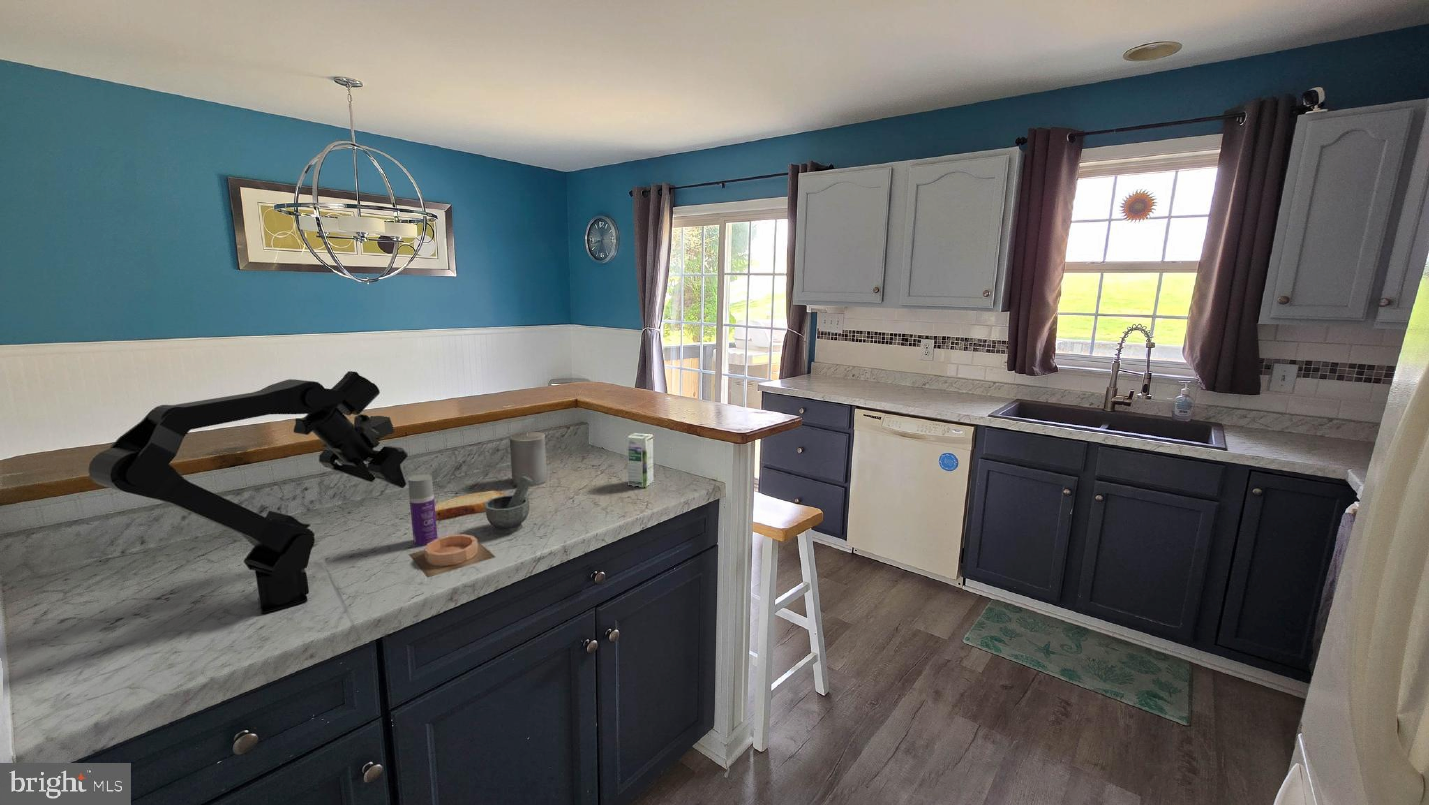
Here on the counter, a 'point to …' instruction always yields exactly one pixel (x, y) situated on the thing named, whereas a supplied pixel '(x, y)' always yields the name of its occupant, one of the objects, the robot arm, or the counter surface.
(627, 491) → the counter surface
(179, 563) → the counter surface
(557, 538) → the counter surface
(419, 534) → the container
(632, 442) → the syrup box
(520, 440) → the pillar candle
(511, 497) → the mortar and pestle
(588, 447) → the counter surface
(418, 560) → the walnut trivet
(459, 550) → the terracotta dish
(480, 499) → the bread slice
